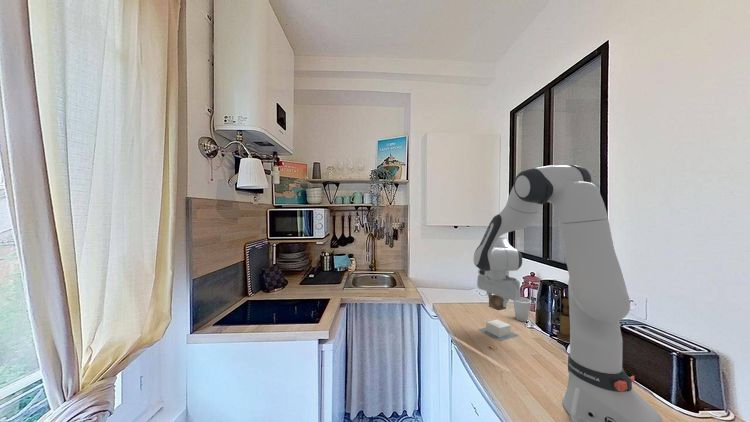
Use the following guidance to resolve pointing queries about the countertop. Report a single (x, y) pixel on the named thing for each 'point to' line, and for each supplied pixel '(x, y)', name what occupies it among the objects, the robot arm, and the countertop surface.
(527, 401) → the countertop surface
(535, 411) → the countertop surface
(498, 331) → the base brick
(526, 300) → the dixie cup
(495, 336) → the build plate
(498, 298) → the walnut brick
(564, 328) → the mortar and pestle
